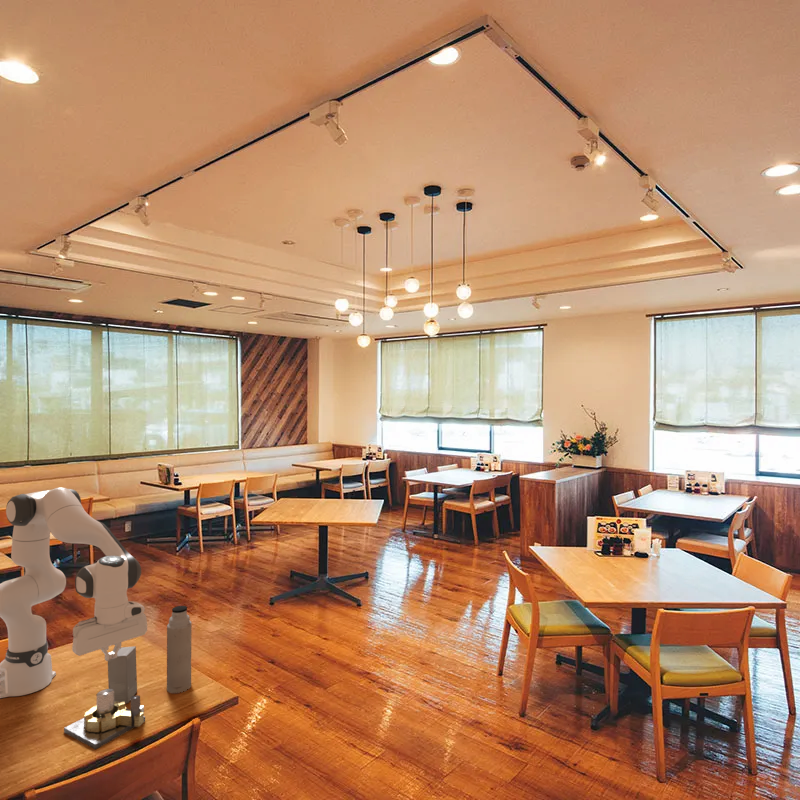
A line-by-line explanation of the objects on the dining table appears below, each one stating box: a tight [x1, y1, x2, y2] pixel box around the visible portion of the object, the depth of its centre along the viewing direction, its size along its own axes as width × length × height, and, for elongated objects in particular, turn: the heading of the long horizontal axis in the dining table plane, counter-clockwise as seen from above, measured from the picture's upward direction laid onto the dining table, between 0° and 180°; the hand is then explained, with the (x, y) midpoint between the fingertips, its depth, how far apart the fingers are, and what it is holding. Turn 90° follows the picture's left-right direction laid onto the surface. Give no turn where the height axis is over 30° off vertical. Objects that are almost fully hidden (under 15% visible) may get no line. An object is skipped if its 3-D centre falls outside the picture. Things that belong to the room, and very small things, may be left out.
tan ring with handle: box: [83, 695, 145, 732], centre depth 169 cm, size 18×11×8 cm, turn 82°
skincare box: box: [107, 646, 138, 704], centre depth 186 cm, size 8×7×16 cm
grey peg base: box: [63, 688, 146, 750], centre depth 169 cm, size 18×16×10 cm
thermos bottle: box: [166, 605, 192, 694], centre depth 193 cm, size 8×8×28 cm
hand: (111, 659), depth 163 cm, fingers closed
